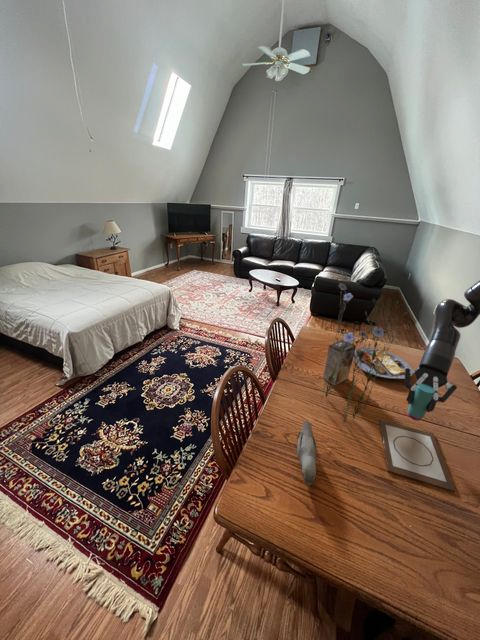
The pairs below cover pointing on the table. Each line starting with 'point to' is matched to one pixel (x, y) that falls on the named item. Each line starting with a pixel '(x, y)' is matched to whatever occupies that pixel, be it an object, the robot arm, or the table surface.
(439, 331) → the robot arm
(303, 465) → the decorative bird
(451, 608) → the table surface
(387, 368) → the food plate
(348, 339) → the wildflower
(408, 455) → the picture frame
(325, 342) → the table surface
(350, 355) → the coffee box
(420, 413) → the cylinder
